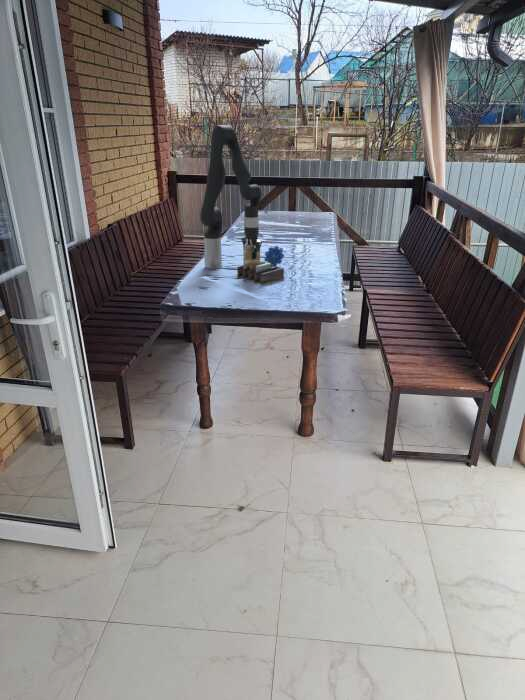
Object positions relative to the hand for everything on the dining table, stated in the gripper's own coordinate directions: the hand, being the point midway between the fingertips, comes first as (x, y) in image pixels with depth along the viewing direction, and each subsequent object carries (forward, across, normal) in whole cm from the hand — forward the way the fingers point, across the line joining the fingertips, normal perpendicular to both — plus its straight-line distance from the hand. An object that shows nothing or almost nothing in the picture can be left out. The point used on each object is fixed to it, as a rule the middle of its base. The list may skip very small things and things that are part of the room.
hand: (251, 258), depth 259 cm
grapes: (+10, -6, +23) cm, 26 cm away
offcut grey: (+9, +9, 0) cm, 13 cm away
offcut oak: (+9, +4, 0) cm, 10 cm away
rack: (+10, +7, 0) cm, 12 cm away
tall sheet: (+9, 0, 0) cm, 9 cm away
